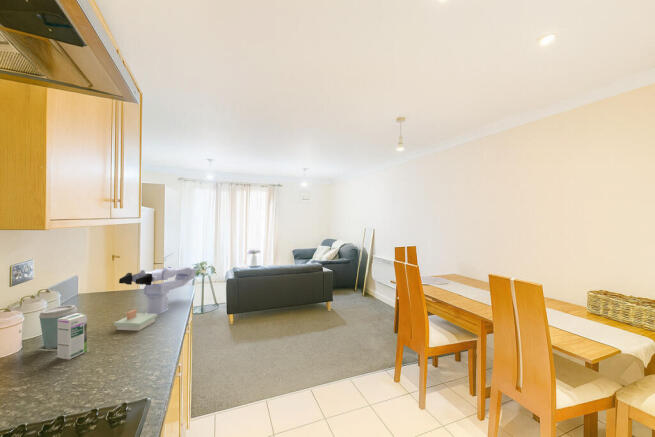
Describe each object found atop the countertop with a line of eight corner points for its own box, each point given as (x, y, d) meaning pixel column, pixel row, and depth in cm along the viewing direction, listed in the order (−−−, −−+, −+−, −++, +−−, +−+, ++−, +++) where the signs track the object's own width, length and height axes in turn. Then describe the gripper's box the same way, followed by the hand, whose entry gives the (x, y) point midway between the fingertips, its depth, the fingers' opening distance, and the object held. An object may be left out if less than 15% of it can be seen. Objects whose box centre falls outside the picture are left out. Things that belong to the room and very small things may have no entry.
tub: (134, 321, 126) (134, 314, 126) (154, 322, 125) (154, 315, 125) (117, 330, 116) (117, 323, 116) (139, 331, 115) (139, 324, 115)
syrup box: (69, 360, 92) (70, 319, 92) (56, 357, 93) (57, 318, 93) (86, 352, 98) (87, 314, 98) (74, 349, 99) (75, 312, 99)
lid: (134, 316, 126) (134, 306, 126) (157, 317, 126) (157, 307, 126) (114, 326, 115) (114, 315, 115) (139, 327, 115) (139, 316, 115)
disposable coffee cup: (28, 352, 97) (29, 312, 97) (58, 338, 107) (59, 302, 107) (56, 353, 97) (57, 313, 96) (84, 339, 107) (85, 303, 107)
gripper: (135, 268, 132) (113, 271, 119) (163, 269, 132) (144, 273, 119) (134, 282, 132) (112, 287, 118) (162, 283, 132) (143, 288, 118)
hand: (128, 281), depth 118 cm, fingers open, 7 cm apart
